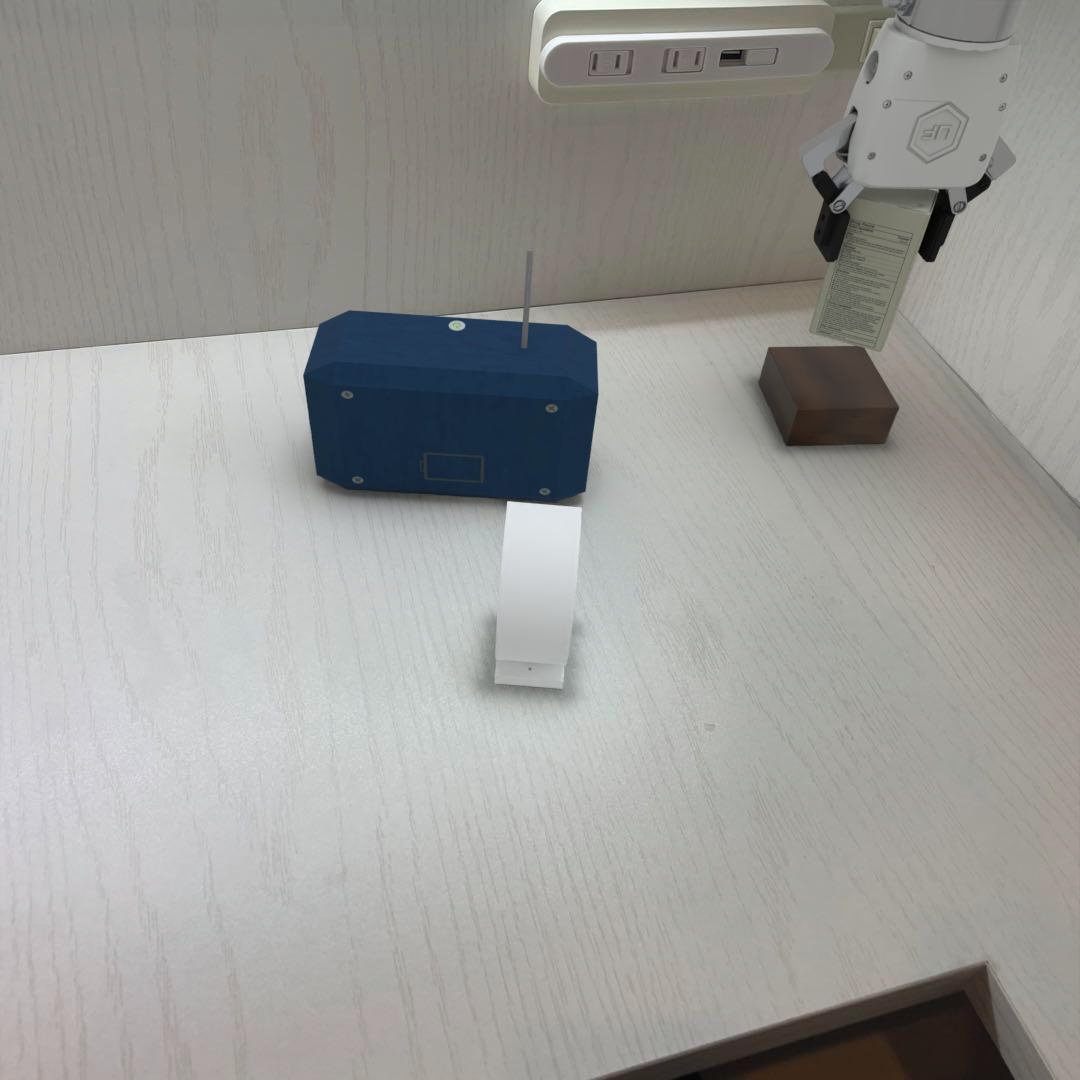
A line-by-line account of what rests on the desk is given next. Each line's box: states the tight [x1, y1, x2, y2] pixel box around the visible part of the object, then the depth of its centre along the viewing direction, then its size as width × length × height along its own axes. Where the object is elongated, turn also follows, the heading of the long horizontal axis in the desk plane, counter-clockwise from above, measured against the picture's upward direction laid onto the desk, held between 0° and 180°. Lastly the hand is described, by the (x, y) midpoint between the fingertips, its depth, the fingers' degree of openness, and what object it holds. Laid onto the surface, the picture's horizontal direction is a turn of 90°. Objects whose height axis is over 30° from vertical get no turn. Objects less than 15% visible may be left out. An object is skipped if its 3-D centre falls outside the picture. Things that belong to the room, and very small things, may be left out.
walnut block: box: [758, 345, 900, 447], centre depth 86 cm, size 9×9×4 cm
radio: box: [302, 249, 599, 503], centre depth 72 cm, size 21×9×20 cm, turn 89°
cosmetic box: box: [808, 187, 938, 353], centre depth 77 cm, size 6×4×12 cm
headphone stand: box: [493, 500, 583, 690], centre depth 61 cm, size 5×6×12 cm
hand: (874, 251), depth 76 cm, fingers closed on cosmetic box, 7 cm apart
